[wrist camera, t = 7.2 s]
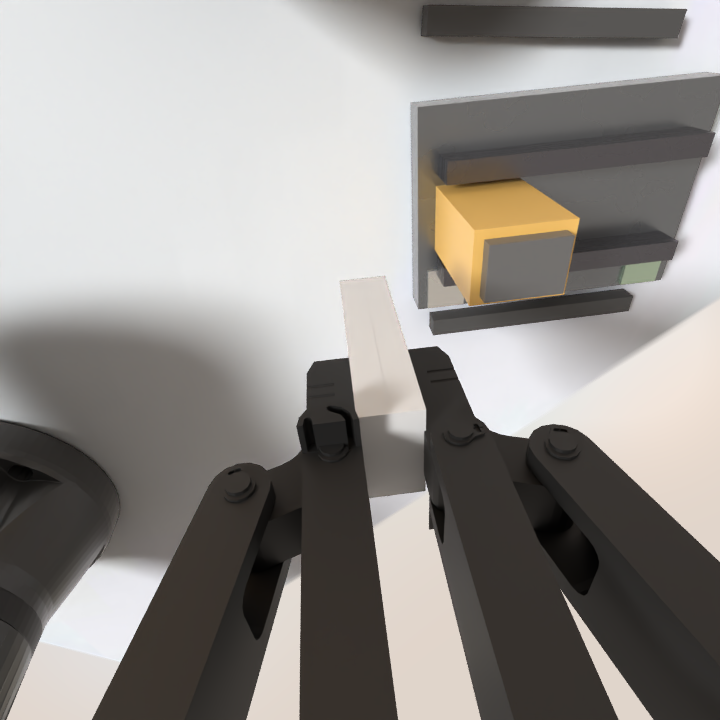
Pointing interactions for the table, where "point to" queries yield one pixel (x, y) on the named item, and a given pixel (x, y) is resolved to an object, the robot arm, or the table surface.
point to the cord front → (551, 21)
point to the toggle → (503, 240)
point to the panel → (570, 168)
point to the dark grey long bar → (529, 311)
